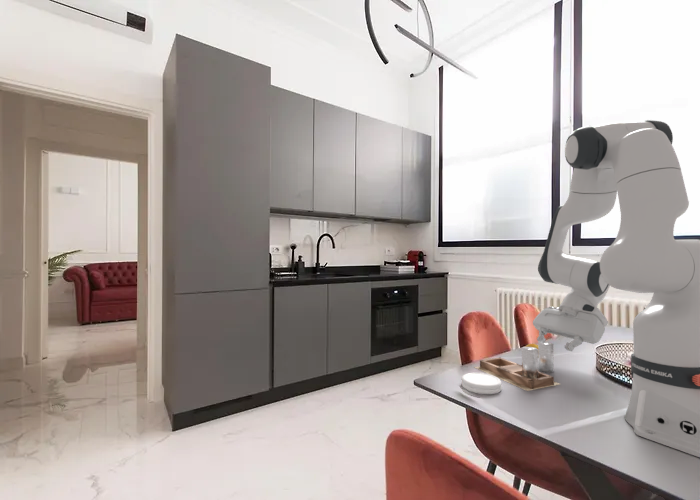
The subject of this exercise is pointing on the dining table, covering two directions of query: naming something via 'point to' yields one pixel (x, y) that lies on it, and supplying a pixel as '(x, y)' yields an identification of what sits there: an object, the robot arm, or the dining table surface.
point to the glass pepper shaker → (546, 356)
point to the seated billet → (530, 362)
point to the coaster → (481, 384)
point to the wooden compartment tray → (514, 374)
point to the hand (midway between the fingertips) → (553, 345)
